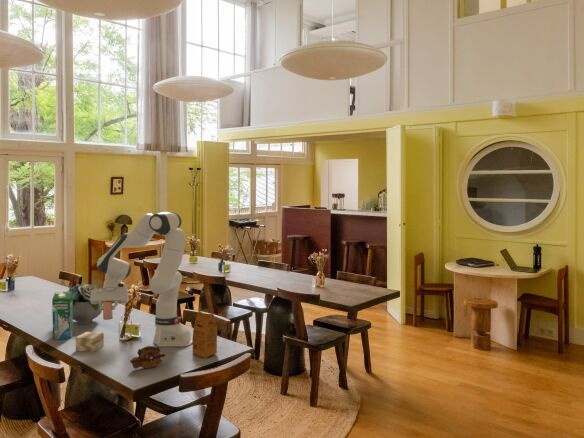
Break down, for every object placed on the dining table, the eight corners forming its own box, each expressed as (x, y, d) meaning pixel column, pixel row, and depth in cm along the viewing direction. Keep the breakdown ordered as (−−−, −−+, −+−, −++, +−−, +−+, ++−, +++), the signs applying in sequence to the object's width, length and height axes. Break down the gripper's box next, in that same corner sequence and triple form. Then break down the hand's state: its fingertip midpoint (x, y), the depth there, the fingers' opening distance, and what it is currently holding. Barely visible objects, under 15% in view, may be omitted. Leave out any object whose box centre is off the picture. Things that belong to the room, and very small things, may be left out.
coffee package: (204, 349, 266) (204, 308, 264) (219, 354, 257) (219, 312, 256) (189, 353, 258) (189, 311, 257) (204, 359, 250) (204, 316, 248)
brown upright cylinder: (114, 317, 276) (113, 301, 275) (109, 319, 271) (109, 303, 270) (106, 317, 276) (105, 301, 276) (101, 319, 272) (101, 303, 271)
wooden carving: (132, 372, 231) (132, 351, 230) (129, 369, 235) (129, 349, 234) (166, 365, 241) (166, 345, 240) (163, 362, 245) (163, 342, 244)
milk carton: (52, 339, 277) (52, 295, 276) (55, 335, 286) (55, 291, 284) (70, 338, 280) (69, 294, 278) (73, 333, 288) (72, 291, 287)
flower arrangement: (96, 328, 299) (96, 288, 298) (55, 327, 300) (54, 287, 298) (112, 317, 324) (111, 280, 322) (74, 316, 325) (73, 279, 323)
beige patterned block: (103, 345, 269) (103, 332, 268) (93, 351, 259) (93, 338, 258) (86, 344, 270) (86, 331, 270) (75, 350, 260) (75, 337, 260)
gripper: (90, 285, 278) (86, 307, 269) (128, 284, 281) (125, 305, 272) (93, 291, 283) (88, 313, 274) (130, 290, 285) (127, 311, 276)
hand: (107, 309), depth 273 cm, fingers closed on brown upright cylinder, 5 cm apart
